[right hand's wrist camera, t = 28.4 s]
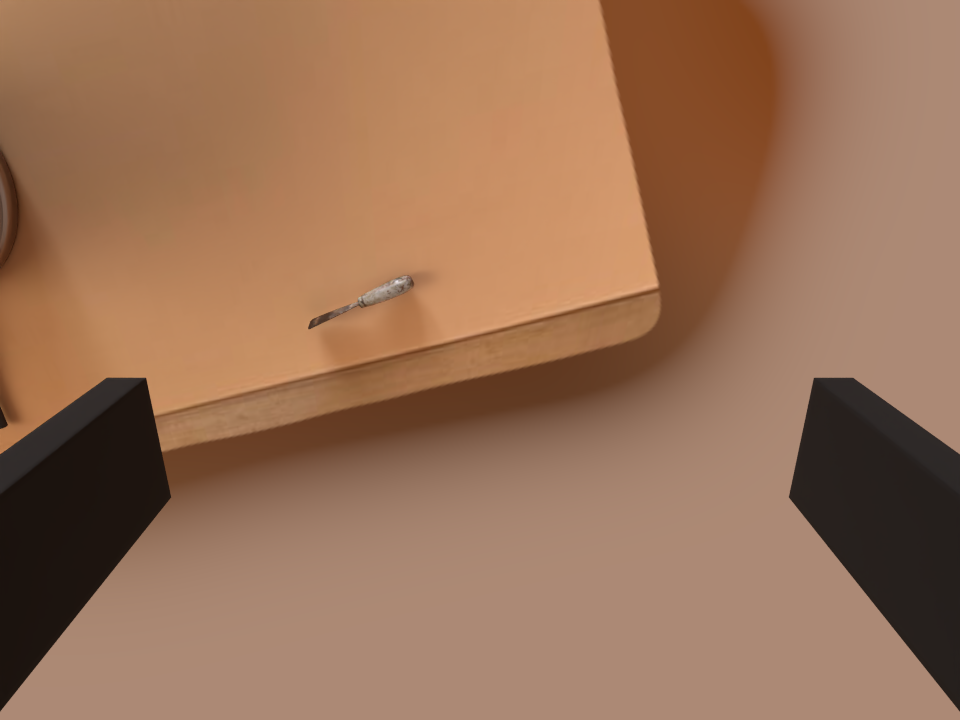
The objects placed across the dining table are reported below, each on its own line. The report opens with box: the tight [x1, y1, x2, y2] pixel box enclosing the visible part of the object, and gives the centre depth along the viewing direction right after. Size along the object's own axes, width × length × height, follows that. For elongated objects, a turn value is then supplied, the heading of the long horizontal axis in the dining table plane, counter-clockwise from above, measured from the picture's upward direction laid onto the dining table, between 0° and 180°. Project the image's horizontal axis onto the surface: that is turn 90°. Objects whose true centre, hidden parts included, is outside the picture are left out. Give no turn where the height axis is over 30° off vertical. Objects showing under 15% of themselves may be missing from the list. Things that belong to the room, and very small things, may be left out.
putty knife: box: [308, 275, 414, 329], centre depth 44 cm, size 1×8×2 cm, turn 114°
